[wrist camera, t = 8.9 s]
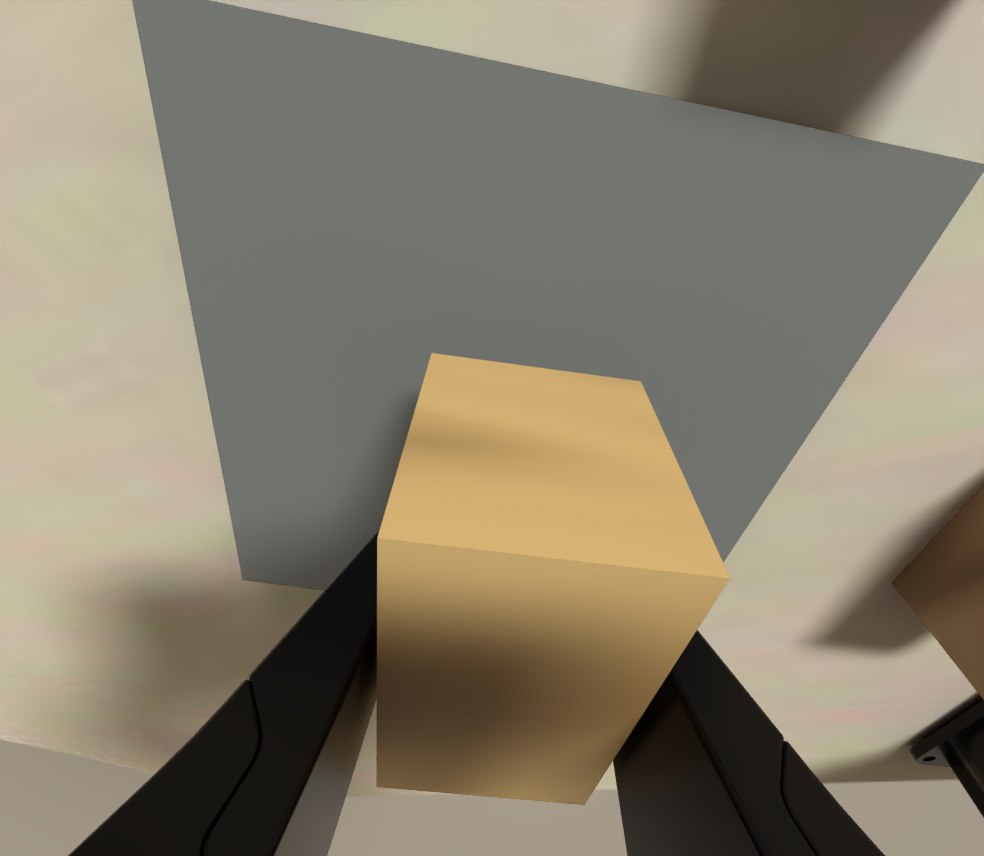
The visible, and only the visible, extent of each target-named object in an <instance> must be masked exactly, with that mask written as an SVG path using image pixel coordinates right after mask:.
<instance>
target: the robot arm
mask: <svg viewBox="0 0 984 856" xmlns="http://www.w3.org/2000/svg"><path fill="white" fill-rule="evenodd" d="M379 531H380V529H379V530H378V532H377V533H376V534H375V535H374V536H373V537H372V538H371V539H370V540H369V542H368V543H367V544H366V545H365V546H364V547H363V548H362V549H361V551H360V552H359V553H358V554H357V555H356V556H355V557H354V558H353V560H352V561H351V562H350V563H349V564H348V565H347V566H346V567H345V569H344V570H343V571H342V572H341V573H340V574H339V575H338V576H337V578H336V579H335V580H334V581H333V582H332V583H331V584H330V585H329V586H328V588H327V589H326V590H325V591H324V592H323V593H322V594H321V595H320V597H319V598H318V599H317V600H316V601H315V602H314V603H313V604H312V606H311V607H310V608H309V609H308V610H307V611H306V612H305V613H304V615H303V616H302V617H301V618H300V619H299V620H298V621H297V622H296V624H295V625H294V626H293V627H292V628H291V629H290V630H289V631H288V632H287V634H286V635H285V636H284V637H283V638H282V639H281V640H280V641H279V643H278V644H277V645H276V646H275V647H274V648H273V649H272V650H271V652H270V653H269V654H268V655H267V656H266V657H265V658H264V659H263V661H262V662H261V663H260V664H259V665H258V666H257V667H256V668H255V670H254V671H253V672H252V673H251V674H250V675H249V680H250V681H249V680H245V681H244V682H243V683H242V684H241V685H240V686H239V687H238V688H237V689H236V690H235V692H234V693H233V694H232V695H231V696H230V697H229V698H228V699H227V701H226V702H225V703H224V704H223V705H222V706H221V707H220V708H219V709H218V710H217V711H216V712H215V714H214V715H213V716H212V717H211V718H210V719H209V720H208V721H207V722H206V723H205V724H204V725H203V726H202V727H201V728H200V730H199V731H198V732H197V733H196V734H195V735H194V736H193V737H192V738H191V739H190V740H189V741H188V742H187V743H186V744H185V745H184V746H183V747H182V748H181V749H180V750H179V751H178V752H177V753H176V754H175V755H174V756H173V757H172V758H171V759H170V760H169V761H168V762H167V763H166V764H165V765H163V766H162V767H161V768H160V769H159V770H158V771H157V772H156V773H155V774H154V775H153V776H152V777H151V778H150V779H149V780H148V781H147V782H146V783H145V784H144V785H143V786H142V787H141V788H140V789H139V790H137V791H136V792H135V793H134V794H133V795H132V796H131V797H130V798H129V799H128V800H127V801H126V802H125V803H124V804H123V805H121V806H120V807H119V808H118V809H117V810H116V811H115V812H114V813H113V814H112V815H111V816H110V817H109V818H108V819H107V820H105V821H104V822H103V823H102V824H101V825H100V826H99V827H98V828H97V829H96V830H95V831H94V832H93V833H92V834H90V835H89V836H88V837H87V838H86V839H85V840H84V841H83V842H82V843H81V844H80V845H79V846H78V847H77V848H76V849H74V851H72V852H71V853H70V854H69V855H68V856H327V854H328V851H329V848H330V845H331V841H332V838H333V835H334V832H335V829H336V826H337V822H338V819H339V816H340V813H341V810H342V807H343V803H344V800H345V797H346V794H347V791H348V787H349V784H350V781H351V778H352V775H353V771H354V768H355V765H356V762H357V759H358V756H359V752H360V749H361V746H362V743H363V740H364V736H365V733H366V730H367V727H368V724H369V720H370V717H371V714H372V711H373V708H374V704H375V701H376V698H377V537H378V534H379ZM910 752H911V754H912V755H913V757H914V758H915V760H916V762H918V763H920V764H928V765H937V766H946V767H951V768H952V770H953V771H954V773H955V774H956V776H957V778H958V779H959V781H960V782H961V784H962V785H963V787H964V788H965V790H966V791H967V793H968V794H969V796H970V797H971V799H972V800H973V802H974V804H975V805H976V806H977V808H978V810H979V811H980V813H981V814H982V816H983V817H984V700H982V701H981V702H979V703H978V704H977V705H975V706H974V707H972V708H971V709H969V710H968V711H966V712H965V713H963V714H962V715H960V716H959V717H957V718H956V719H954V720H953V721H951V722H950V723H948V724H947V725H945V726H944V727H942V728H941V729H939V730H938V731H936V732H935V733H933V734H932V735H930V736H929V737H927V738H926V739H924V740H923V741H921V742H920V743H918V744H917V745H915V746H914V747H912V748H911V749H910ZM613 764H614V770H615V777H616V783H617V790H618V797H619V802H620V810H621V816H622V823H623V829H624V836H625V843H626V849H627V856H885V855H884V854H883V853H882V852H881V851H880V850H879V849H878V848H877V846H876V845H875V844H874V843H873V842H872V841H871V840H870V839H869V837H868V836H867V835H866V834H865V833H864V832H863V831H862V829H861V828H860V827H859V826H858V825H857V824H856V823H855V822H854V820H853V819H852V818H851V817H850V816H849V815H848V814H847V812H846V811H845V810H844V809H843V808H842V807H841V806H840V805H839V803H838V802H837V801H836V800H835V799H834V797H833V796H832V795H831V794H830V793H829V791H828V790H827V789H826V788H825V787H824V785H823V784H822V783H821V782H820V781H819V779H818V778H817V777H816V776H815V775H814V773H813V772H812V771H811V770H810V769H809V767H808V766H807V765H806V764H805V762H804V761H803V760H802V759H801V757H800V756H799V755H798V754H797V752H796V751H795V750H794V749H793V747H792V746H791V745H790V744H789V743H788V742H787V741H784V738H783V735H782V734H781V733H780V732H779V730H778V729H777V728H776V727H775V725H774V724H773V723H772V722H771V720H770V719H769V718H768V717H767V716H766V714H765V713H764V712H763V711H762V709H761V708H760V707H759V706H758V704H757V703H756V702H755V701H754V699H753V698H752V697H751V696H750V694H749V693H748V692H747V691H746V689H745V688H744V687H743V686H742V684H741V683H740V682H739V681H738V680H737V678H736V677H735V676H734V675H733V673H732V672H731V671H730V670H729V668H728V667H727V666H726V665H725V663H724V662H723V661H722V660H721V658H720V657H719V656H718V655H717V653H716V652H715V651H714V650H713V648H712V647H711V646H710V645H709V644H708V642H707V641H706V640H705V639H704V637H703V636H702V635H701V634H700V632H699V631H698V630H697V631H696V632H695V634H694V635H693V637H692V638H691V640H690V641H689V643H688V645H687V646H686V648H685V649H684V651H683V652H682V654H681V655H680V657H679V659H678V660H677V662H676V663H675V665H674V666H673V668H672V669H671V671H670V673H669V674H668V676H667V677H666V679H665V680H664V682H663V683H662V685H661V687H660V688H659V690H658V691H657V693H656V694H655V696H654V697H653V699H652V701H651V702H650V704H649V705H648V707H647V708H646V710H645V711H644V713H643V714H642V716H641V718H640V719H639V721H638V722H637V724H636V725H635V727H634V728H633V730H632V732H631V733H630V735H629V736H628V738H627V739H626V741H625V742H624V744H623V746H622V747H621V749H620V750H619V752H618V753H617V755H616V756H615V758H614V760H613Z"/></svg>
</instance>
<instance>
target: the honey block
mask: <svg viewBox="0 0 984 856" xmlns="http://www.w3.org/2000/svg"><path fill="white" fill-rule="evenodd" d="M729 579H730V577H729V575H728V572H727V570H726V568H725V566H724V564H723V561H722V559H721V557H720V555H719V553H718V550H717V548H716V546H715V544H714V542H713V539H712V537H711V535H710V533H709V531H708V528H707V526H706V524H705V522H704V520H703V517H702V515H701V513H700V511H699V508H698V506H697V504H696V502H695V500H694V497H693V495H692V493H691V491H690V489H689V486H688V484H687V482H686V480H685V478H684V475H683V473H682V471H681V469H680V467H679V464H678V462H677V460H676V458H675V456H674V453H673V451H672V449H671V447H670V445H669V442H668V440H667V438H666V436H665V434H664V431H663V429H662V427H661V425H660V423H659V420H658V418H657V416H656V414H655V412H654V409H653V407H652V405H651V403H650V400H649V398H648V396H647V394H646V392H645V389H644V387H643V385H642V383H641V381H635V380H627V379H620V378H612V377H605V376H598V375H590V374H583V373H576V372H568V371H561V370H553V369H546V368H539V367H531V366H524V365H516V364H509V363H502V362H494V361H487V360H480V359H472V358H465V357H457V356H450V355H443V354H435V353H431V357H430V360H429V364H428V367H427V370H426V374H425V377H424V381H423V384H422V387H421V391H420V394H419V398H418V401H417V405H416V408H415V411H414V415H413V418H412V422H411V425H410V428H409V432H408V435H407V439H406V442H405V445H404V449H403V452H402V456H401V459H400V462H399V466H398V469H397V473H396V476H395V480H394V483H393V486H392V490H391V493H390V497H389V500H388V503H387V507H386V510H385V514H384V517H383V520H382V524H381V527H380V531H379V534H378V537H377V787H384V788H396V789H407V790H419V791H430V792H442V793H453V794H465V795H476V796H488V797H499V798H511V799H523V800H534V801H546V802H557V803H569V804H580V805H585V803H586V801H587V800H588V798H589V797H590V795H591V794H592V792H593V791H594V789H595V787H596V786H597V784H598V783H599V781H600V780H601V778H602V777H603V775H604V774H605V772H606V770H607V769H608V767H609V766H610V764H611V763H612V761H613V760H614V758H615V756H616V755H617V753H618V752H619V750H620V749H621V747H622V746H623V744H624V742H625V741H626V739H627V738H628V736H629V735H630V733H631V732H632V730H633V728H634V727H635V725H636V724H637V722H638V721H639V719H640V718H641V716H642V714H643V713H644V711H645V710H646V708H647V707H648V705H649V704H650V702H651V701H652V699H653V697H654V696H655V694H656V693H657V691H658V690H659V688H660V687H661V685H662V683H663V682H664V680H665V679H666V677H667V676H668V674H669V673H670V671H671V669H672V668H673V666H674V665H675V663H676V662H677V660H678V659H679V657H680V655H681V654H682V652H683V651H684V649H685V648H686V646H687V645H688V643H689V641H690V640H691V638H692V637H693V635H694V634H695V632H696V631H697V629H698V628H699V626H700V624H701V623H702V621H703V620H704V618H705V617H706V615H707V614H708V612H709V610H710V609H711V607H712V606H713V604H714V603H715V601H716V600H717V598H718V596H719V595H720V593H721V592H722V590H723V589H724V587H725V586H726V584H727V582H728V581H729Z"/></svg>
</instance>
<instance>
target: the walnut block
mask: <svg viewBox="0 0 984 856" xmlns="http://www.w3.org/2000/svg"><path fill="white" fill-rule="evenodd" d="M892 584H893V585H894V586H895V587H896V589H897V590H898V591H899V592H900V594H901V595H902V596H903V598H904V599H905V600H906V601H907V603H908V604H909V605H910V606H911V608H912V609H913V610H914V612H915V613H916V614H917V615H918V617H919V618H920V619H921V621H922V622H923V623H924V624H925V626H926V627H927V628H928V629H929V631H930V632H931V633H932V635H933V636H934V637H935V638H936V640H937V641H938V642H939V643H940V645H941V646H942V647H943V649H944V650H945V651H946V652H947V654H948V655H949V656H950V658H951V659H952V660H953V661H954V663H955V664H956V665H957V666H958V668H959V669H960V670H961V672H962V673H963V674H964V675H965V677H966V678H967V679H968V681H969V682H970V683H971V684H972V686H973V687H974V688H975V689H976V691H977V692H978V693H979V695H980V696H981V697H982V698H983V700H984V485H983V486H982V488H981V489H980V490H979V491H978V492H977V493H976V494H975V495H974V496H973V497H972V498H971V499H970V500H969V501H968V502H967V503H966V504H965V505H964V507H963V508H962V509H961V510H960V511H959V512H958V513H957V514H956V515H955V516H954V517H953V518H952V519H951V520H950V521H949V522H948V523H947V525H946V526H945V527H944V528H943V529H942V530H941V531H940V532H939V533H938V534H937V535H936V536H935V537H934V538H933V539H932V540H931V541H930V542H929V544H928V545H927V546H926V547H925V548H924V549H923V550H922V551H921V552H920V553H919V554H918V555H917V556H916V557H915V558H914V559H913V560H912V561H911V563H910V564H909V565H908V566H907V567H906V568H905V569H904V570H903V571H902V572H901V573H900V574H899V575H898V576H897V577H896V578H895V579H894V581H893V582H892Z"/></svg>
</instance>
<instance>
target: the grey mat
mask: <svg viewBox="0 0 984 856" xmlns="http://www.w3.org/2000/svg"><path fill="white" fill-rule="evenodd" d="M132 1H133V7H134V12H135V17H136V22H137V28H138V33H139V38H140V43H141V48H142V54H143V59H144V64H145V69H146V75H147V80H148V85H149V90H150V96H151V101H152V106H153V111H154V117H155V122H156V127H157V132H158V138H159V143H160V148H161V153H162V159H163V164H164V169H165V174H166V179H167V185H168V190H169V195H170V200H171V206H172V211H173V216H174V221H175V227H176V232H177V237H178V242H179V248H180V253H181V258H182V263H183V269H184V274H185V279H186V284H187V290H188V295H189V300H190V305H191V310H192V316H193V321H194V326H195V331H196V337H197V342H198V347H199V352H200V358H201V363H202V368H203V373H204V379H205V384H206V389H207V394H208V400H209V405H210V410H211V415H212V421H213V426H214V431H215V436H216V442H217V447H218V452H219V457H220V462H221V468H222V473H223V478H224V483H225V489H226V494H227V499H228V504H229V510H230V515H231V520H232V525H233V531H234V536H235V541H236V546H237V552H238V557H239V562H240V567H241V573H242V578H243V580H248V581H256V582H264V583H272V584H279V585H287V586H295V587H303V588H311V589H319V590H326V589H327V588H328V586H329V585H330V584H331V583H332V582H333V581H334V580H335V579H336V578H337V576H338V575H339V574H340V573H341V572H342V571H343V570H344V569H345V567H346V566H347V565H348V564H349V563H350V562H351V561H352V560H353V558H354V557H355V556H356V555H357V554H358V553H359V552H360V551H361V549H362V548H363V547H364V546H365V545H366V544H367V543H368V542H369V540H370V539H371V538H372V537H373V536H374V535H375V534H376V533H377V532H378V530H379V529H380V527H381V524H382V520H383V517H384V514H385V510H386V507H387V503H388V500H389V497H390V493H391V490H392V486H393V483H394V480H395V476H396V473H397V469H398V466H399V462H400V459H401V456H402V452H403V449H404V445H405V442H406V439H407V435H408V432H409V428H410V425H411V422H412V418H413V415H414V411H415V408H416V405H417V401H418V398H419V394H420V391H421V387H422V384H423V381H424V377H425V374H426V370H427V367H428V364H429V360H430V357H431V353H435V354H443V355H450V356H457V357H465V358H472V359H480V360H487V361H494V362H502V363H509V364H516V365H524V366H531V367H539V368H546V369H553V370H561V371H568V372H576V373H583V374H590V375H598V376H605V377H612V378H620V379H627V380H635V381H641V383H642V385H643V387H644V389H645V392H646V394H647V396H648V398H649V400H650V403H651V405H652V407H653V409H654V412H655V414H656V416H657V418H658V420H659V423H660V425H661V427H662V429H663V431H664V434H665V436H666V438H667V440H668V442H669V445H670V447H671V449H672V451H673V453H674V456H675V458H676V460H677V462H678V464H679V467H680V469H681V471H682V473H683V475H684V478H685V480H686V482H687V484H688V486H689V489H690V491H691V493H692V495H693V497H694V500H695V502H696V504H697V506H698V508H699V511H700V513H701V515H702V517H703V520H704V522H705V524H706V526H707V528H708V531H709V533H710V535H711V537H712V539H713V542H714V544H715V546H716V548H717V550H718V553H719V555H720V557H721V559H722V561H723V562H724V561H725V559H726V558H727V556H728V555H729V553H730V552H731V550H732V549H733V547H734V546H735V544H736V543H737V541H738V540H739V538H740V537H741V535H742V534H743V532H744V531H745V529H746V528H747V526H748V525H749V523H750V522H751V520H752V519H753V517H754V516H755V514H756V513H757V511H758V510H759V508H760V507H761V505H762V504H763V502H764V501H765V499H766V498H767V496H768V495H769V493H770V492H771V490H772V489H773V487H774V486H775V484H776V483H777V481H778V480H779V478H780V477H781V475H782V474H783V472H784V471H785V469H786V468H787V466H788V465H789V463H790V462H791V460H792V459H793V457H794V456H795V454H796V453H797V451H798V450H799V448H800V447H801V445H802V444H803V442H804V441H805V439H806V438H807V436H808V435H809V433H810V432H811V430H812V429H813V427H814V426H815V424H816V423H817V421H818V420H819V418H820V417H821V415H822V414H823V412H824V411H825V409H826V408H827V406H828V405H829V403H830V402H831V400H832V399H833V397H834V396H835V394H836V393H837V391H838V389H839V388H840V386H841V385H842V383H843V382H844V380H845V379H846V377H847V376H848V374H849V373H850V371H851V370H852V368H853V367H854V365H855V364H856V362H857V361H858V359H859V358H860V356H861V355H862V353H863V352H864V350H865V349H866V347H867V346H868V344H869V343H870V341H871V340H872V338H873V337H874V335H875V334H876V332H877V331H878V329H879V328H880V326H881V325H882V323H883V322H884V320H885V319H886V317H887V316H888V314H889V313H890V311H891V310H892V308H893V307H894V305H895V304H896V302H897V301H898V299H899V298H900V296H901V295H902V293H903V292H904V290H905V289H906V287H907V286H908V284H909V283H910V281H911V280H912V278H913V277H914V275H915V274H916V272H917V271H918V269H919V268H920V266H921V265H922V263H923V262H924V260H925V259H926V257H927V256H928V254H929V253H930V251H931V250H932V248H933V247H934V245H935V244H936V242H937V241H938V239H939V238H940V236H941V235H942V233H943V232H944V230H945V229H946V227H947V226H948V224H949V223H950V221H951V220H952V218H953V217H954V215H955V214H956V212H957V211H958V209H959V208H960V206H961V205H962V203H963V202H964V200H965V199H966V197H967V196H968V194H969V193H970V191H971V190H972V188H973V187H974V185H975V184H976V182H977V181H978V179H979V178H980V176H981V175H982V173H983V172H984V164H981V163H976V162H972V161H967V160H962V159H957V158H953V157H948V156H943V155H938V154H934V153H929V152H924V151H919V150H915V149H910V148H905V147H900V146H896V145H891V144H886V143H882V142H877V141H872V140H867V139H863V138H858V137H853V136H848V135H844V134H839V133H834V132H829V131H825V130H820V129H815V128H810V127H806V126H801V125H796V124H792V123H787V122H782V121H777V120H773V119H768V118H763V117H758V116H754V115H749V114H744V113H739V112H735V111H730V110H725V109H720V108H716V107H711V106H706V105H702V104H697V103H692V102H687V101H683V100H678V99H673V98H668V97H664V96H659V95H654V94H649V93H645V92H640V91H635V90H630V89H626V88H621V87H616V86H612V85H607V84H602V83H597V82H593V81H588V80H583V79H578V78H574V77H569V76H564V75H559V74H555V73H550V72H545V71H540V70H536V69H531V68H526V67H522V66H517V65H512V64H507V63H503V62H498V61H493V60H488V59H484V58H479V57H474V56H469V55H465V54H460V53H455V52H450V51H446V50H441V49H436V48H432V47H427V46H422V45H417V44H413V43H408V42H403V41H398V40H394V39H389V38H384V37H379V36H375V35H370V34H365V33H360V32H356V31H351V30H346V29H342V28H337V27H332V26H327V25H323V24H318V23H313V22H308V21H304V20H299V19H294V18H289V17H285V16H280V15H275V14H270V13H266V12H261V11H256V10H252V9H247V8H242V7H237V6H233V5H228V4H223V3H218V2H214V1H209V0H132Z"/></svg>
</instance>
